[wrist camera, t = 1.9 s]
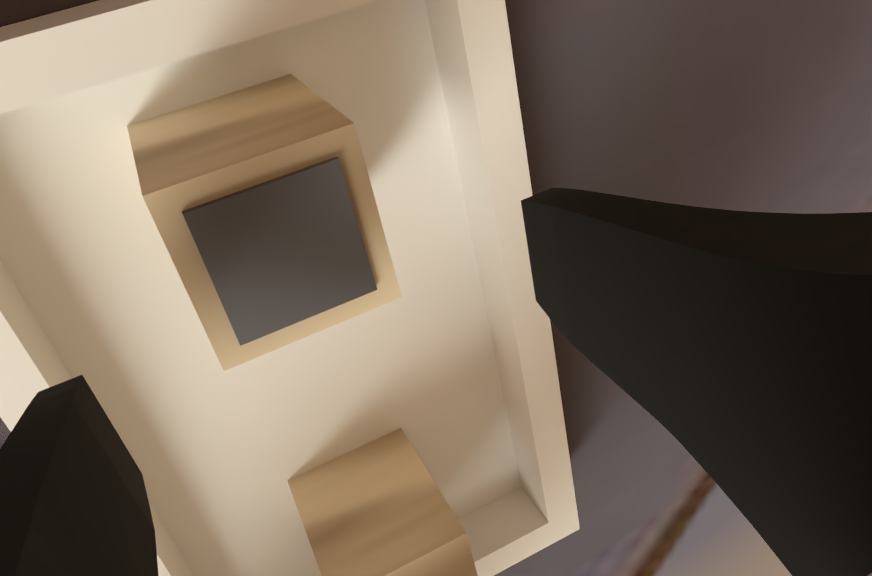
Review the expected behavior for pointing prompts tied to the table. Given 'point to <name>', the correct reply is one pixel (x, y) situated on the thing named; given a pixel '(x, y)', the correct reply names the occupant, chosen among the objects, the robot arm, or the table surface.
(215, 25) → the tray
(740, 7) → the table surface
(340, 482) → the plain block
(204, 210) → the labelled block
